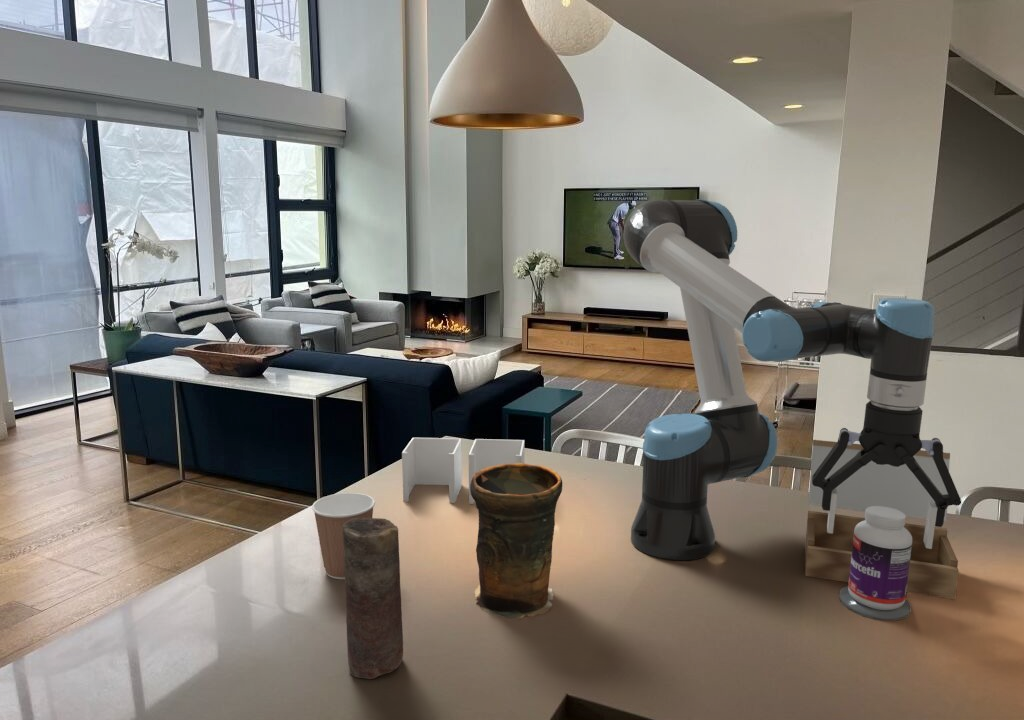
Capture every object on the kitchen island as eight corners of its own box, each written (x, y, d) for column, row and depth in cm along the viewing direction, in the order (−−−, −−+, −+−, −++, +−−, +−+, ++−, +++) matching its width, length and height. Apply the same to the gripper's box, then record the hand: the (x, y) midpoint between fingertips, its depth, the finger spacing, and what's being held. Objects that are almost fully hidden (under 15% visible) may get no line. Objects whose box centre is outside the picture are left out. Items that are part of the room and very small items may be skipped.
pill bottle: (836, 591, 119) (844, 505, 116) (876, 584, 121) (885, 500, 119) (874, 616, 111) (884, 526, 109) (917, 608, 114) (927, 519, 111)
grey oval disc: (840, 612, 114) (841, 609, 114) (838, 583, 123) (838, 580, 123) (914, 625, 110) (915, 621, 110) (906, 594, 119) (906, 590, 119)
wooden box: (805, 575, 126) (808, 536, 124) (805, 546, 137) (808, 510, 135) (954, 599, 118) (960, 557, 117) (941, 566, 129) (946, 528, 128)
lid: (813, 439, 137) (812, 439, 138) (808, 504, 136) (808, 504, 136) (950, 453, 129) (949, 453, 130) (946, 522, 128) (945, 521, 129)
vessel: (572, 581, 123) (573, 466, 119) (547, 627, 110) (547, 499, 106) (490, 568, 128) (488, 457, 124) (457, 611, 115) (454, 488, 111)
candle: (352, 649, 104) (346, 513, 100) (405, 647, 105) (401, 512, 101) (344, 683, 96) (338, 537, 93) (401, 680, 97) (397, 535, 93)
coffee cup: (389, 563, 130) (387, 498, 128) (352, 589, 121) (350, 519, 118) (340, 552, 134) (338, 488, 132) (302, 577, 125) (298, 509, 123)
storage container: (524, 487, 167) (524, 440, 165) (521, 505, 156) (521, 455, 154) (413, 484, 169) (412, 437, 167) (403, 502, 158) (401, 452, 156)
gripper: (804, 401, 112) (791, 533, 116) (998, 420, 103) (975, 562, 107) (804, 389, 118) (791, 514, 123) (986, 406, 110) (965, 540, 114)
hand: (877, 537), depth 115 cm, fingers open, 13 cm apart
